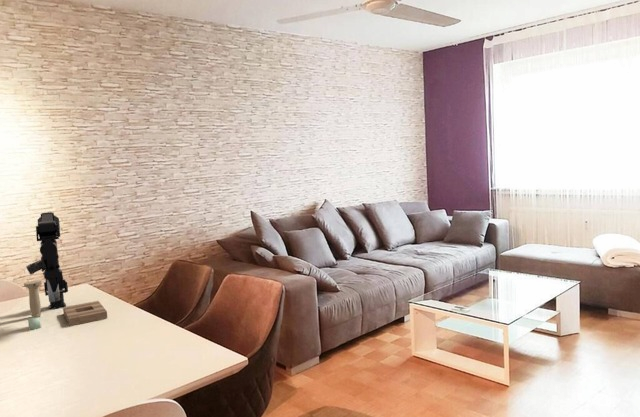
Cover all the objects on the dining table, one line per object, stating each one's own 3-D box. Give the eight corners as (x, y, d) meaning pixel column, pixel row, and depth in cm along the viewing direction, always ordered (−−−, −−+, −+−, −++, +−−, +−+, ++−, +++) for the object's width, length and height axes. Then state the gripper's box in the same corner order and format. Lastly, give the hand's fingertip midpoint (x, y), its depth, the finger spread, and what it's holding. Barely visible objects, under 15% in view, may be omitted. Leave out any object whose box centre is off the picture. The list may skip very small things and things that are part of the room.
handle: (46, 315, 206) (42, 281, 205) (29, 319, 202) (25, 284, 200) (43, 313, 210) (39, 279, 208) (26, 317, 205) (22, 283, 204)
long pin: (48, 300, 197) (46, 276, 196) (59, 298, 200) (57, 274, 199) (49, 302, 194) (46, 278, 193) (60, 300, 196) (58, 276, 195)
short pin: (28, 328, 192) (27, 318, 191) (40, 325, 194) (39, 316, 193) (29, 330, 188) (28, 320, 188) (41, 328, 190) (40, 318, 190)
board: (63, 313, 208) (63, 307, 208) (98, 307, 216) (98, 300, 215) (69, 326, 191) (68, 318, 191) (107, 318, 199) (106, 311, 199)
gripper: (25, 252, 198) (29, 289, 200) (27, 259, 183) (31, 299, 184) (56, 249, 204) (60, 285, 206) (60, 255, 189) (64, 294, 190)
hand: (53, 290), depth 196 cm, fingers closed on long pin, 4 cm apart
